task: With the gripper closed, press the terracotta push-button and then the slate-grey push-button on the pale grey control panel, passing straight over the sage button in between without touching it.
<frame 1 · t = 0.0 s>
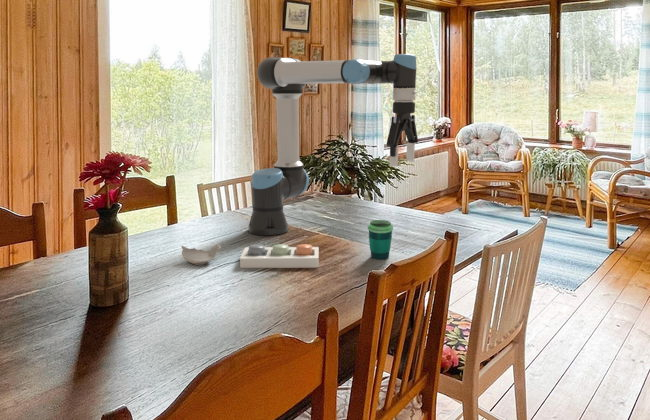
hand: (402, 163, 191), 28 cm above the table, fingers open, 13 cm apart
cup: (379, 258, 179), on the table
pottery shard: (201, 263, 175), on the table
button terracotta: (304, 250, 174), point 4 cm above the table, slide at 0.0 cm
button slate: (256, 251, 174), point 4 cm above the table, slide at 0.0 cm
panel: (280, 261, 175), on the table
button sage: (280, 251, 174), point 4 cm above the table, slide at 0.0 cm
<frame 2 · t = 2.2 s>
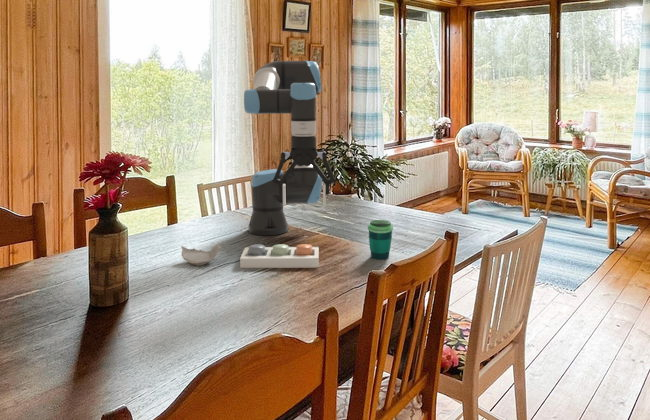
hand: (304, 205, 171), 18 cm above the table, fingers open, 12 cm apart
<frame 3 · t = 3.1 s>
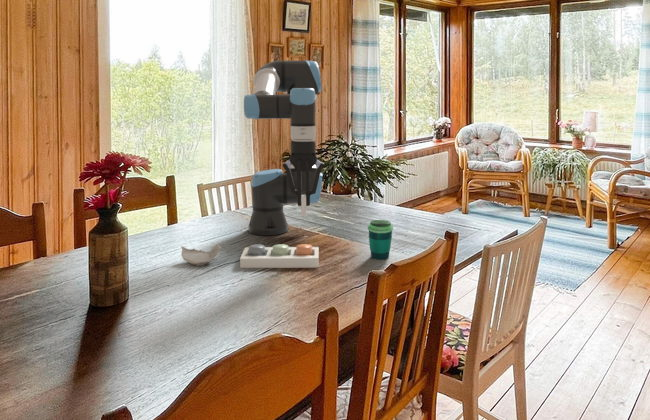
hand: (304, 216, 172), 15 cm above the table, fingers closed
nothing on the table moved.
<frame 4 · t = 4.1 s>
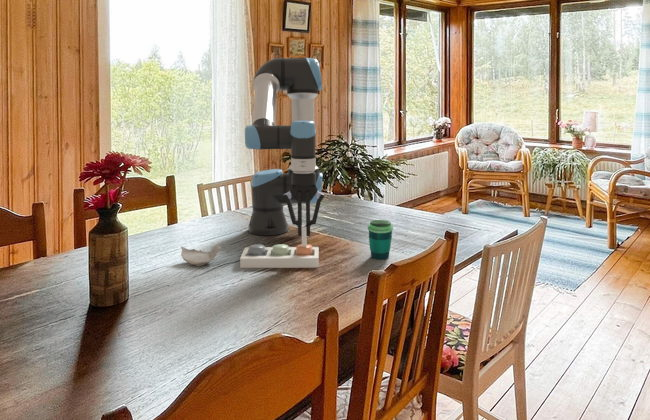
hand: (304, 245, 174), 5 cm above the table, fingers closed
button terracotta: (304, 250, 174), point 4 cm above the table, slide at 0.0 cm, touching gripper
everything else where it was.
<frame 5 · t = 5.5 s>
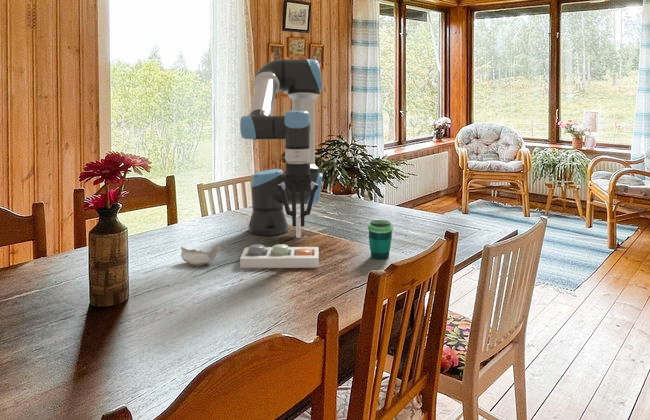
hand: (298, 236, 174), 8 cm above the table, fingers closed
button terracotta: (304, 255, 175), point 2 cm above the table, slide at 1.5 cm
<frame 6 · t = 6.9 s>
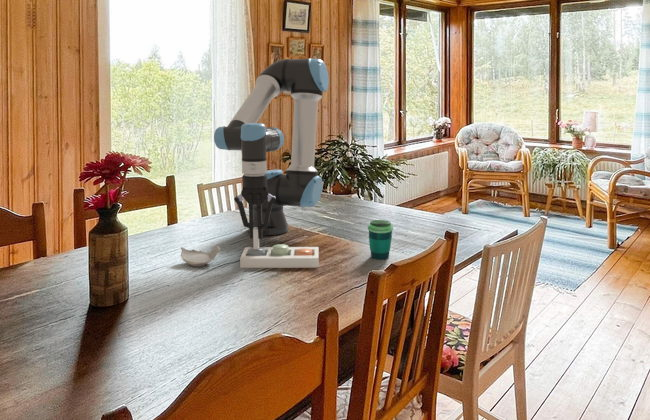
hand: (256, 248, 174), 4 cm above the table, fingers closed
button slate: (256, 253, 175), point 3 cm above the table, slide at 0.8 cm, touching gripper
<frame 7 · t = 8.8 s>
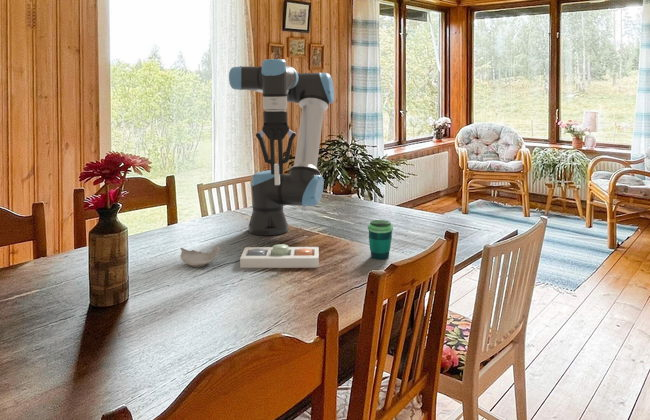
hand: (277, 184, 178), 23 cm above the table, fingers closed
button slate: (257, 255, 175), point 2 cm above the table, slide at 1.5 cm
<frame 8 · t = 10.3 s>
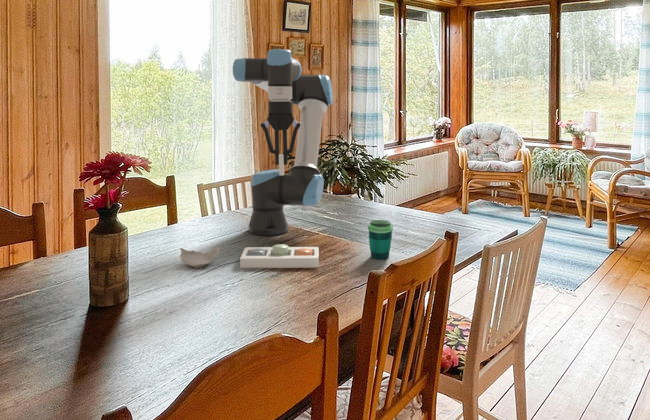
hand: (281, 174, 179), 26 cm above the table, fingers closed
at the end: button terracotta slide at 1.5 cm; button slate slide at 1.5 cm; button sage slide at 0.0 cm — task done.
